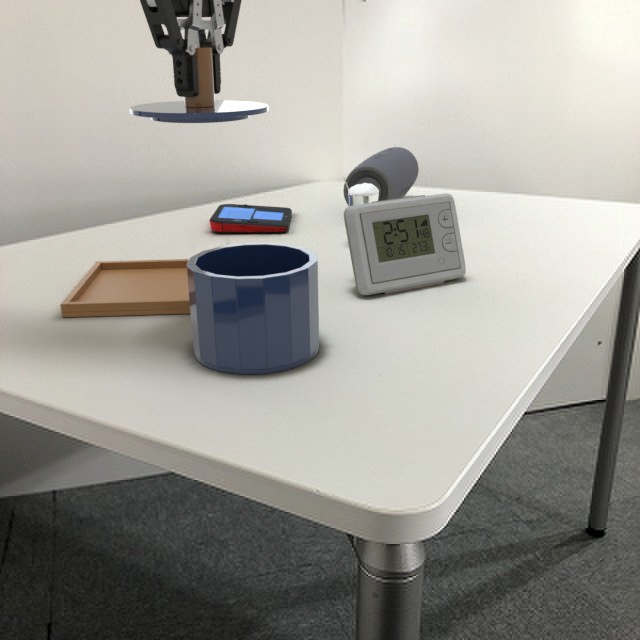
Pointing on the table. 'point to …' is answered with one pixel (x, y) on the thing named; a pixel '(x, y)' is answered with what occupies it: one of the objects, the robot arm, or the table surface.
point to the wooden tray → (130, 289)
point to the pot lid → (200, 101)
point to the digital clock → (404, 243)
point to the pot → (254, 307)
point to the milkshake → (362, 193)
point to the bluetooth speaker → (386, 173)
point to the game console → (250, 219)
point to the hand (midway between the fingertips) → (198, 94)
